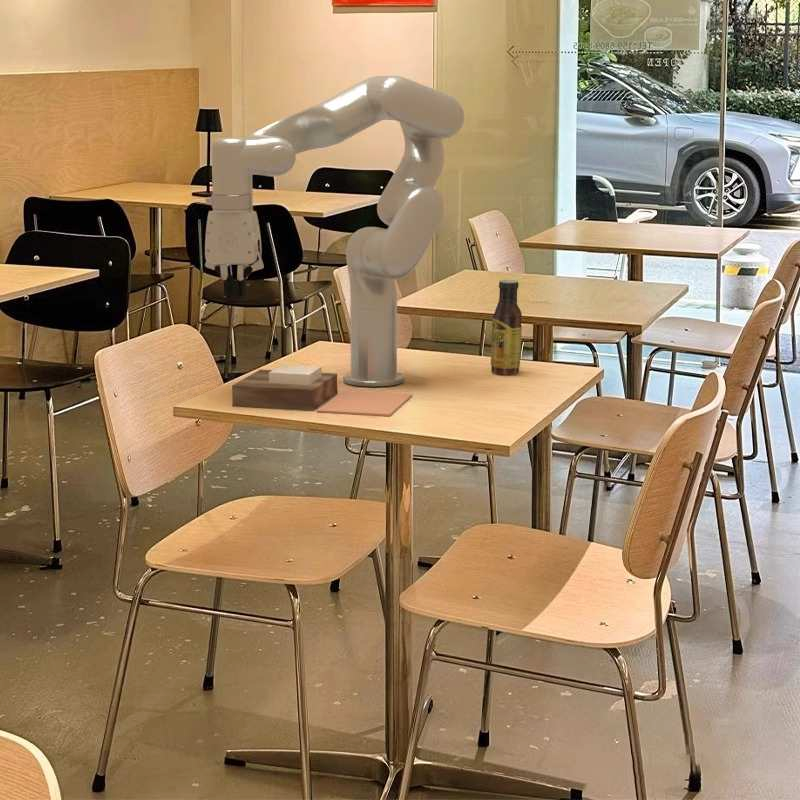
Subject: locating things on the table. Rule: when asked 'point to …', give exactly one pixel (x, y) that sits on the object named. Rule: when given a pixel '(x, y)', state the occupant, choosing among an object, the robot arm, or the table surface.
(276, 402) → the deck
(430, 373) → the table surface
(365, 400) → the mat
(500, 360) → the sauce bottle
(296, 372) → the cream block
